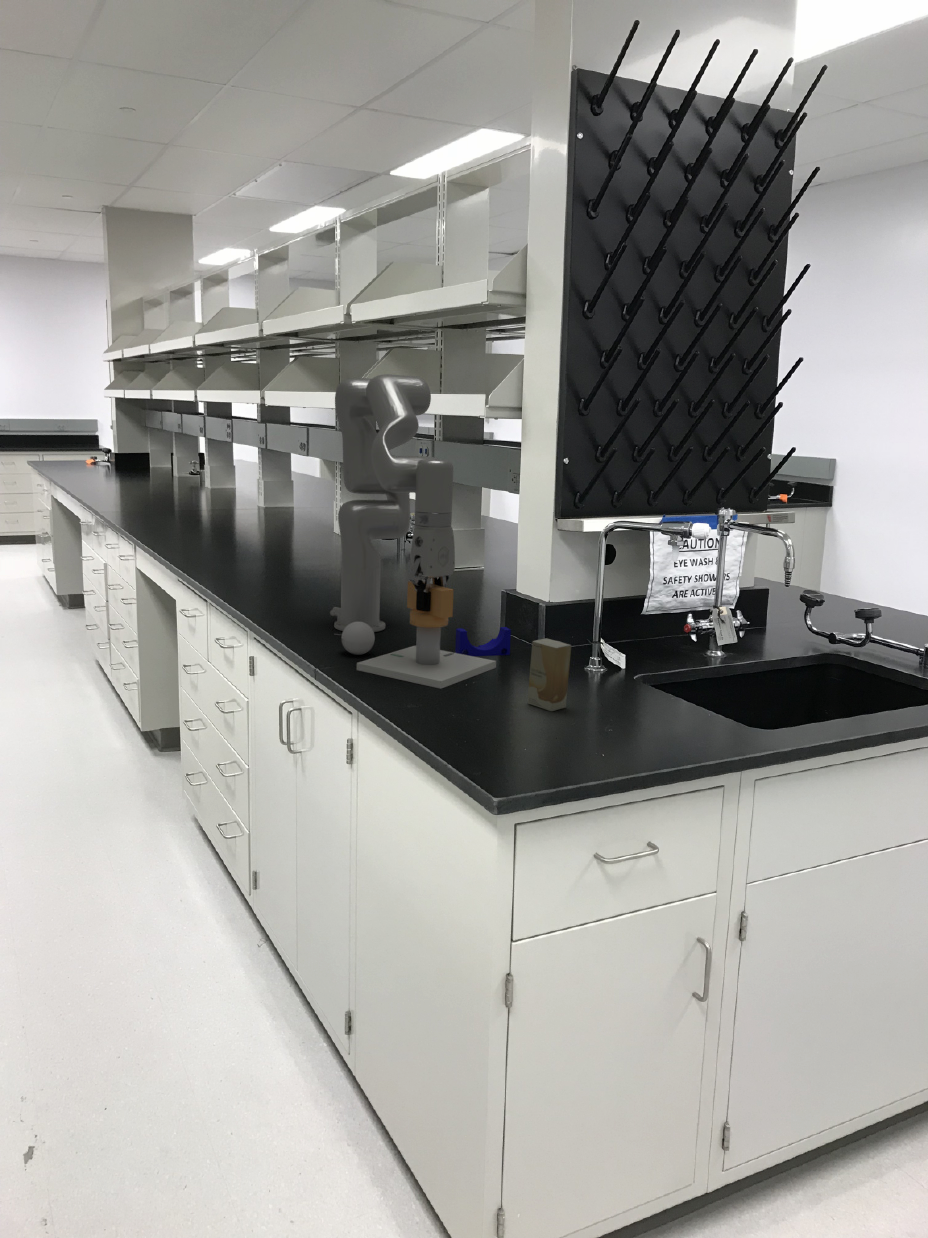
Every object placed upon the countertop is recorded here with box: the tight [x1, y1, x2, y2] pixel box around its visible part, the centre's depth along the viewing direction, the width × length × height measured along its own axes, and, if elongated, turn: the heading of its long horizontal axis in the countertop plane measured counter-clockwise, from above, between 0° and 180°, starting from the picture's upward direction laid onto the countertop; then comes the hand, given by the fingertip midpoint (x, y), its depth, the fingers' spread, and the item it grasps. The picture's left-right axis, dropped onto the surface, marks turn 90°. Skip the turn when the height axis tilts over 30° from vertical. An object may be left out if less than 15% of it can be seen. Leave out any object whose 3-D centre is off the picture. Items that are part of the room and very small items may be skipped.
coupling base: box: [356, 626, 497, 689], centre depth 196 cm, size 21×21×10 cm
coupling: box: [406, 580, 454, 628], centre depth 194 cm, size 12×8×8 cm, turn 38°
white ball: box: [335, 622, 376, 656], centre depth 206 cm, size 10×7×7 cm
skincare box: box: [527, 637, 572, 712], centre depth 173 cm, size 6×4×12 cm
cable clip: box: [454, 626, 512, 657], centre depth 212 cm, size 12×4×6 cm, turn 109°
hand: (430, 608), depth 194 cm, fingers closed on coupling, 4 cm apart
